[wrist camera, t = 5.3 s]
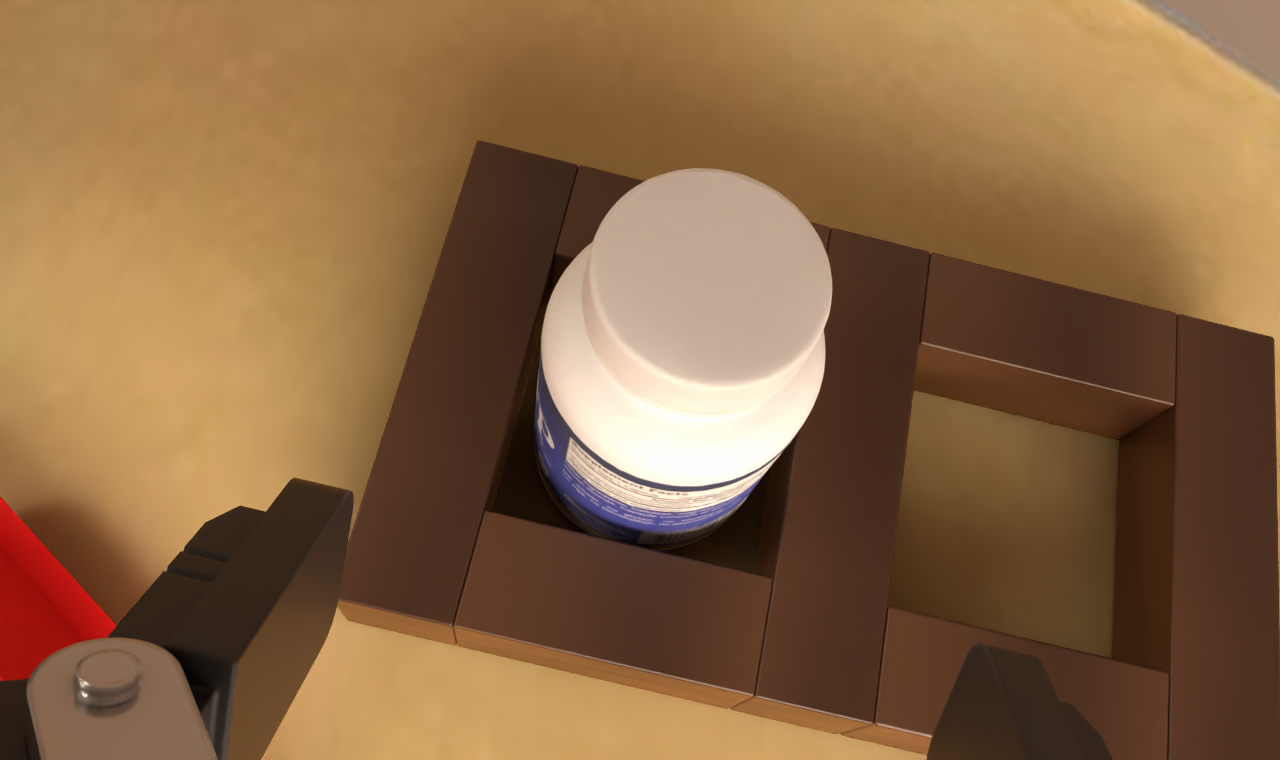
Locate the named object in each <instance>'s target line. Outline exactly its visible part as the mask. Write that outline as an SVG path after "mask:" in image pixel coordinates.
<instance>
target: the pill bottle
mask: <svg viewBox="0 0 1280 760" xmlns="http://www.w3.org/2000/svg"><path fill="white" fill-rule="evenodd" d="M831 300H832V276H831V269H830V264H829V260H828V256H827V253H826V251H825V249H824V246H823V243H822V241H821V239H820V237H819V236H818V234H817V232H816V231H815V229H814V228H813V226H812V225H811V223H810V222H809V221H808V219H807V218H806V217H805V216H804V214H803V213H802V212H801V211H800V210H799V209H798V208H797V207H796V205H794V204H793V203H792V202H791V201H789V200H788V199H787V198H786V197H784V196H783V195H782V194H781V193H779V192H778V191H776V190H774V189H773V188H771V187H769V186H768V185H766V184H764V183H762V182H759V181H757V180H755V179H753V178H751V177H749V176H746V175H743V174H740V173H736V172H731V171H726V170H720V169H709V168H690V169H684V170H676V171H672V172H668V173H665V174H661V175H658V176H655V177H653V178H651V179H648V180H646V181H645V182H643V183H641V184H639V185H637V186H636V187H634V188H633V189H631V190H630V191H629V192H627V193H626V194H625V195H624V196H623V197H621V198H620V199H619V200H618V201H617V202H616V204H615V205H614V206H613V207H612V208H611V209H610V210H609V212H608V213H607V215H606V216H605V218H604V219H603V221H602V222H601V224H600V226H599V228H598V231H597V233H596V235H595V237H594V240H593V242H592V243H590V244H589V245H588V246H587V247H585V248H584V249H583V250H582V251H581V252H580V254H579V255H578V256H577V257H576V258H575V259H574V260H573V261H572V262H571V264H570V265H569V266H568V267H567V268H566V270H565V271H564V273H563V274H562V276H561V277H560V279H559V281H558V283H557V285H556V286H555V288H554V290H553V293H552V295H551V298H550V300H549V303H548V306H547V310H546V313H545V318H544V322H543V328H542V334H541V345H540V360H539V371H538V382H537V396H536V407H535V417H534V432H533V443H534V453H535V459H536V464H537V467H538V471H539V474H540V477H541V479H542V481H543V483H544V486H545V488H546V489H547V491H548V493H549V495H550V496H551V498H552V499H553V501H554V502H555V504H556V505H557V506H558V508H559V509H560V510H561V511H562V512H563V513H564V514H565V515H566V517H567V518H569V519H570V520H571V521H572V522H573V523H574V524H575V525H577V526H578V527H579V528H580V529H582V530H583V531H585V532H586V533H588V534H589V535H593V536H598V537H602V538H606V539H610V540H615V541H619V542H623V543H627V544H631V545H636V546H640V547H644V548H648V549H653V550H657V551H664V550H670V549H676V548H679V547H683V546H686V545H689V544H692V543H694V542H697V541H699V540H701V539H703V538H705V537H707V536H708V535H710V534H712V533H713V532H715V531H716V530H718V529H719V528H720V527H721V526H723V525H724V524H725V523H726V522H727V521H728V520H729V519H730V518H731V517H732V516H733V515H734V514H735V513H736V512H737V510H738V509H739V508H740V507H741V505H742V504H743V503H744V502H745V500H746V499H747V498H748V496H749V495H750V493H751V492H752V491H753V489H754V488H755V486H756V485H757V484H758V482H759V481H760V480H761V478H762V477H763V476H764V474H765V473H766V472H767V471H768V469H769V468H770V467H771V465H772V464H773V463H774V462H775V461H776V460H777V458H778V457H779V456H780V455H781V454H782V452H783V451H784V450H785V449H786V448H787V446H788V445H789V444H790V443H791V441H792V440H793V439H794V437H795V435H796V434H797V432H798V431H799V429H800V428H801V427H802V425H803V424H804V422H805V420H806V419H807V417H808V415H809V413H810V412H811V410H812V408H813V406H814V403H815V401H816V398H817V396H818V393H819V391H820V387H821V383H822V379H823V375H824V367H825V336H824V327H825V325H826V322H827V319H828V317H829V312H830V307H831Z"/></svg>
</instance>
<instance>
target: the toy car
mask: <svg viewBox="0 0 1280 760" xmlns="http://www.w3.org/2000/svg"><path fill="white" fill-rule="evenodd" d="M115 627H116V625H115V624H114V622H113V621H112V620H111V619H110V618H109V617H108V616H107V615H106V614H105V612H104V611H103V610H102V609H101V608H100V607H99V606H98V605H97V604H96V602H95V601H94V600H93V599H92V598H91V597H90V596H89V595H88V594H87V592H86V591H85V590H84V589H83V588H82V587H81V586H80V585H79V584H78V582H77V581H76V580H75V579H74V578H73V577H72V576H71V575H70V574H69V572H68V571H67V570H66V569H65V568H64V567H63V566H62V565H61V564H60V562H59V561H58V560H57V559H56V558H55V557H54V556H53V555H52V554H51V552H50V551H49V550H48V549H47V548H46V547H45V546H44V545H43V543H42V542H41V541H40V540H39V539H38V538H37V537H36V536H35V535H34V533H33V532H32V531H31V530H30V529H29V528H28V527H27V526H26V525H25V523H24V522H23V521H22V520H21V519H20V518H19V517H18V516H17V515H16V513H15V512H14V511H13V510H12V509H11V508H10V507H9V506H8V505H7V503H6V502H5V501H4V500H3V499H2V498H1V497H0V681H3V680H18V679H26V678H30V676H31V674H32V672H33V671H34V670H35V668H36V667H37V666H38V665H39V664H40V663H41V662H42V661H43V660H45V659H46V658H47V657H48V656H50V655H52V654H53V653H55V652H57V651H58V650H61V649H63V648H65V647H67V646H70V645H73V644H76V643H79V642H82V641H87V640H92V639H99V638H107V637H108V636H109V634H110V633H111V632H112V631H113V630H114V629H115Z"/></svg>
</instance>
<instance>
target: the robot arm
mask: <svg viewBox="0 0 1280 760" xmlns="http://www.w3.org/2000/svg"><path fill="white" fill-rule="evenodd" d="M352 511H353V493H352V491H349V490H345V489H341V488H336V487H332V486H328V485H324V484H320V483H315V482H311V481H307V480H303V479H299V478H293V479H291V480H290V481H289V482H288V484H287V485H286V486H285V488H284V489H283V490H282V492H281V493H280V494H279V495H278V497H277V498H276V499H275V501H274V502H273V503H272V505H271V506H270V507H269V508H268V510H267V511H266V512H264V511H260V510H256V509H252V508H248V507H243V506H238V507H236V508H234V509H232V510H230V511H228V512H226V513H224V514H222V515H220V516H218V517H216V518H214V519H212V520H210V521H208V522H206V523H205V524H204V525H203V526H202V527H201V528H200V530H199V531H198V532H197V533H196V534H195V535H194V537H193V538H192V539H191V540H190V541H189V542H188V544H187V545H186V546H185V548H184V551H183V552H180V553H179V554H178V555H177V556H176V558H175V559H174V560H173V561H172V562H171V563H170V565H169V566H168V569H167V571H166V572H164V571H163V573H162V574H161V575H160V576H159V577H158V578H157V580H156V581H155V582H154V583H153V584H152V585H151V587H150V588H149V589H148V590H147V591H146V592H145V594H144V595H143V596H142V597H141V598H140V599H139V601H138V602H137V603H136V604H135V605H134V606H133V608H132V609H131V610H130V611H129V612H128V613H127V615H126V616H125V617H124V618H123V619H122V620H121V622H120V623H119V624H118V625H117V626H116V627H115V629H114V630H113V631H112V632H111V633H110V634H109V636H108V637H107V638H99V639H92V640H87V641H82V642H79V643H76V644H73V645H70V646H67V647H65V648H63V649H61V650H58V651H57V652H55V653H53V654H52V655H50V656H48V657H47V658H46V659H45V660H43V661H42V662H41V663H40V664H39V665H38V666H37V667H36V668H35V670H34V671H33V672H32V674H31V676H30V678H26V679H18V680H3V681H0V760H261V758H262V756H263V755H264V753H265V751H266V749H267V747H268V745H269V744H270V742H271V740H272V738H273V736H274V734H275V733H276V731H277V729H278V727H279V725H280V723H281V722H282V720H283V718H284V716H285V714H286V712H287V711H288V709H289V707H290V705H291V703H292V701H293V700H294V698H295V696H296V694H297V692H298V690H299V689H300V687H301V685H302V683H303V681H304V679H305V678H306V676H307V674H308V672H309V670H310V668H311V667H312V665H313V663H314V661H315V659H316V657H317V656H318V654H319V652H320V650H321V648H322V646H323V644H324V642H325V640H326V638H327V636H328V633H329V630H330V628H331V625H332V622H333V618H334V615H335V612H336V608H337V604H338V599H339V594H340V588H341V581H342V575H343V568H344V562H345V556H346V549H347V543H348V536H349V530H350V524H351V517H352ZM927 760H1113V758H1112V756H1111V754H1110V752H1109V750H1108V748H1107V746H1106V744H1105V742H1104V740H1103V737H1102V736H1101V735H1100V734H1099V733H1098V732H1097V731H1096V729H1095V728H1094V727H1093V726H1092V725H1091V724H1090V723H1089V722H1088V721H1087V720H1086V719H1085V718H1084V717H1083V715H1082V714H1081V713H1080V712H1079V711H1078V710H1077V709H1076V708H1075V707H1074V706H1073V705H1071V704H1067V703H1063V702H1060V701H1059V699H1058V697H1057V694H1056V692H1055V690H1054V688H1053V685H1052V683H1051V681H1050V679H1049V677H1048V674H1047V672H1046V670H1045V668H1044V665H1043V663H1042V662H1041V660H1040V659H1039V658H1038V657H1037V656H1035V655H1030V654H1026V653H1022V652H1018V651H1014V650H1009V649H1005V648H1001V647H997V646H993V645H988V644H984V643H977V644H975V645H974V646H973V647H972V648H971V649H970V651H969V652H968V654H967V656H966V658H965V660H964V663H963V665H962V667H961V670H960V672H959V674H958V677H957V679H956V681H955V684H954V686H953V689H952V691H951V693H950V696H949V698H948V700H947V703H946V705H945V707H944V710H943V712H942V714H941V717H940V719H939V722H938V724H937V726H936V729H935V731H934V733H933V736H932V739H931V742H930V745H929V750H928V755H927Z"/></svg>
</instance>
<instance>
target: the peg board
mask: <svg viewBox="0 0 1280 760" xmlns="http://www.w3.org/2000/svg"><path fill="white" fill-rule="evenodd" d="M643 182H645V181H642V180H638V179H634V178H630V177H626V176H622V175H618V174H614V173H610V172H606V171H602V170H598V169H594V168H590V167H586V166H582V165H580V166H579V167H578V165H576V164H573V163H569V162H565V161H561V160H556V159H552V158H548V157H544V156H540V155H536V154H532V153H528V152H524V151H520V150H516V149H512V148H508V147H504V146H500V145H496V144H492V143H488V142H484V141H480V140H479V141H477V142H476V145H475V148H474V151H473V155H472V158H471V161H470V164H469V167H468V170H467V173H466V176H465V180H464V183H463V186H462V189H461V192H460V195H459V198H458V201H457V205H456V208H455V211H454V214H453V217H452V220H451V223H450V226H449V230H448V233H447V236H446V239H445V242H444V245H443V248H442V251H441V255H440V258H439V261H438V264H437V267H436V270H435V273H434V276H433V280H432V283H431V286H430V289H429V292H428V295H427V298H426V301H425V305H424V308H423V311H422V314H421V317H420V320H419V323H418V326H417V330H416V333H415V336H414V339H413V342H412V345H411V348H410V351H409V354H408V358H407V361H406V364H405V367H404V370H403V373H402V376H401V379H400V383H399V386H398V389H397V392H396V395H395V398H394V401H393V404H392V408H391V411H390V414H389V417H388V420H387V423H386V426H385V429H384V433H383V436H382V439H381V442H380V445H379V448H378V451H377V454H376V458H375V461H374V464H373V467H372V470H371V473H370V476H369V479H368V483H367V486H366V489H365V492H364V495H363V498H362V501H361V504H360V508H359V511H358V514H357V517H356V520H355V523H354V526H353V529H352V533H351V536H350V539H349V542H348V545H347V549H346V556H345V562H344V568H343V575H342V581H341V588H340V594H339V599H338V604H337V606H338V608H339V609H340V611H341V612H342V613H343V615H344V616H345V618H346V619H347V620H348V621H352V622H356V623H361V624H365V625H369V626H373V627H378V628H382V629H386V630H391V631H395V632H399V633H404V634H408V635H412V636H416V637H421V638H425V639H429V640H434V641H438V642H442V643H447V644H451V645H456V643H457V645H458V646H459V647H464V648H468V649H472V650H477V651H481V652H485V653H490V654H494V655H498V656H502V657H507V658H511V659H515V660H520V661H524V662H528V663H533V664H537V665H541V666H545V667H550V668H554V669H558V670H563V671H567V672H571V673H576V674H580V675H584V676H588V677H593V678H597V679H601V680H606V681H610V682H614V683H619V684H623V685H627V686H631V687H636V688H640V689H644V690H649V691H653V692H657V693H662V694H666V695H670V696H674V697H679V698H683V699H687V700H692V701H696V702H700V703H705V704H709V705H713V706H717V707H722V708H726V709H728V708H731V709H732V710H735V711H739V712H743V713H747V714H752V715H756V716H760V717H765V718H769V719H773V720H778V721H782V722H786V723H790V724H795V725H799V726H803V727H808V728H812V729H816V730H821V731H825V732H829V733H833V734H838V733H840V734H841V735H843V736H847V737H852V738H856V739H860V740H864V741H869V742H873V743H877V744H882V745H886V746H890V747H895V748H899V749H903V750H907V751H912V752H916V753H920V754H925V755H928V750H929V745H930V742H931V739H932V736H933V733H934V731H935V729H936V726H937V724H938V722H939V719H940V717H941V714H942V712H943V710H944V707H945V705H946V703H947V700H948V698H949V696H950V693H951V691H952V689H953V686H954V684H955V681H956V679H957V677H958V674H959V672H960V670H961V667H962V665H963V663H964V660H965V658H966V656H967V654H968V652H969V651H970V649H971V648H972V647H973V646H974V645H975V644H977V643H984V644H988V645H993V646H997V647H1001V648H1005V649H1009V650H1014V651H1018V652H1022V653H1026V654H1030V655H1035V656H1037V657H1038V658H1039V659H1040V660H1041V662H1042V663H1043V665H1044V668H1045V670H1046V672H1047V674H1048V677H1049V679H1050V681H1051V683H1052V685H1053V688H1054V690H1055V692H1056V694H1057V697H1058V699H1059V701H1060V702H1063V703H1067V704H1071V705H1073V706H1074V707H1075V708H1076V709H1077V710H1078V711H1079V712H1080V713H1081V714H1082V715H1083V717H1084V718H1085V719H1086V720H1087V721H1088V722H1089V723H1090V724H1091V725H1092V726H1093V727H1094V728H1095V729H1096V731H1097V732H1098V733H1099V734H1100V735H1101V736H1102V737H1103V740H1104V742H1105V744H1106V746H1107V748H1108V750H1109V752H1110V754H1111V756H1112V758H1113V760H1280V625H1279V571H1278V517H1277V464H1276V410H1275V356H1274V338H1273V337H1270V336H1266V335H1262V334H1258V333H1254V332H1249V331H1245V330H1241V329H1237V328H1233V327H1229V326H1225V325H1221V324H1217V323H1213V322H1209V321H1205V320H1201V319H1197V318H1193V317H1189V316H1185V315H1181V314H1179V315H1177V314H1176V313H1174V312H1170V311H1166V310H1162V309H1158V308H1154V307H1150V306H1146V305H1141V304H1137V303H1133V302H1129V301H1125V300H1121V299H1117V298H1113V297H1109V296H1105V295H1101V294H1097V293H1093V292H1089V291H1085V290H1081V289H1077V288H1073V287H1069V286H1065V285H1061V284H1057V283H1053V282H1049V281H1045V280H1041V279H1037V278H1033V277H1029V276H1025V275H1020V274H1016V273H1012V272H1008V271H1004V270H1000V269H996V268H992V267H988V266H984V265H980V264H976V263H972V262H968V261H964V260H960V259H956V258H952V257H948V256H944V255H940V254H936V253H931V254H930V253H929V252H928V251H924V250H920V249H916V248H912V247H908V246H904V245H900V244H896V243H892V242H888V241H884V240H880V239H876V238H871V237H867V236H863V235H859V234H855V233H851V232H847V231H843V230H839V229H835V228H831V229H830V227H828V226H824V225H820V224H816V223H812V222H810V223H811V225H812V226H813V228H814V229H815V231H816V232H817V234H818V236H819V237H820V239H821V241H822V243H823V246H824V249H825V251H826V253H827V256H828V260H829V264H830V269H831V276H832V300H831V307H830V312H829V317H828V319H827V322H826V325H825V327H824V336H825V367H824V375H823V379H822V383H821V387H820V391H819V393H818V396H817V398H816V401H815V403H814V406H813V408H812V410H811V412H810V413H809V415H808V417H807V419H806V420H805V422H804V424H803V425H802V427H801V428H800V429H799V431H798V432H797V434H796V435H795V437H794V439H793V440H792V441H791V443H790V444H789V445H788V446H787V448H786V449H785V450H784V451H783V452H782V454H781V455H780V456H779V457H778V458H777V460H776V461H775V462H774V463H773V464H772V467H771V472H770V478H769V484H768V490H767V496H766V502H765V508H764V513H763V519H762V525H761V531H760V537H759V543H758V549H757V554H756V560H755V566H754V572H753V573H750V572H745V571H741V570H737V569H733V568H729V567H724V566H720V565H716V564H712V563H707V562H703V561H699V560H695V559H691V558H686V557H682V556H678V555H674V554H669V553H665V552H661V551H657V550H653V549H648V548H644V547H640V546H636V545H631V544H627V543H623V542H619V541H615V540H610V539H606V538H602V537H598V536H593V535H589V534H585V533H581V532H577V531H572V530H568V529H564V528H560V527H555V526H551V525H547V524H543V523H539V522H534V521H530V520H526V519H522V518H517V517H513V516H509V515H505V514H501V513H496V512H493V508H494V504H495V501H496V497H497V493H498V490H499V486H500V482H501V479H502V475H503V471H504V467H505V464H506V460H507V456H508V453H509V449H510V445H511V442H512V438H513V434H514V430H515V427H516V423H517V419H518V416H519V412H520V408H521V405H522V401H523V397H524V394H525V390H526V386H527V382H528V379H529V375H530V371H531V368H532V364H533V360H534V357H535V353H536V349H537V345H538V342H539V338H540V334H541V331H542V327H543V322H544V318H545V313H546V310H547V306H548V303H549V300H550V298H551V295H552V293H553V290H554V288H555V286H556V285H557V283H558V281H559V279H560V277H561V276H562V274H563V273H564V271H565V270H566V268H567V267H568V266H569V265H570V264H571V262H572V261H573V260H574V259H575V258H576V257H577V256H578V255H579V254H580V252H581V251H582V250H583V249H584V248H585V247H587V246H588V245H589V244H590V243H592V242H593V240H594V237H595V235H596V233H597V231H598V228H599V226H600V224H601V222H602V221H603V219H604V218H605V216H606V215H607V213H608V212H609V210H610V209H611V208H612V207H613V206H614V205H615V204H616V202H617V201H618V200H619V199H620V198H621V197H623V196H624V195H625V194H626V193H627V192H629V191H630V190H631V189H633V188H634V187H636V186H637V185H639V184H641V183H643ZM913 390H916V391H921V392H925V393H929V394H933V395H937V396H941V397H945V398H949V399H953V400H958V401H962V402H966V403H970V404H974V405H978V406H982V407H986V408H990V409H994V410H999V411H1003V412H1007V413H1011V414H1015V415H1019V416H1023V417H1027V418H1031V419H1036V420H1040V421H1044V422H1048V423H1052V424H1056V425H1060V426H1064V427H1068V428H1072V429H1077V430H1081V431H1085V432H1089V433H1093V434H1097V435H1101V436H1105V437H1109V438H1114V439H1120V461H1119V486H1118V511H1117V536H1116V561H1115V585H1114V610H1113V635H1112V659H1111V658H1107V657H1103V656H1099V655H1095V654H1090V653H1086V652H1082V651H1078V650H1073V649H1069V648H1065V647H1061V646H1057V645H1052V644H1048V643H1044V642H1040V641H1035V640H1031V639H1027V638H1023V637H1019V636H1014V635H1010V634H1006V633H1002V632H997V631H993V630H989V629H985V628H981V627H976V626H972V625H968V624H964V623H959V622H955V621H951V620H947V619H943V618H938V617H934V616H930V615H926V614H921V613H917V612H913V611H909V610H905V609H900V608H896V607H892V606H891V607H887V605H888V596H889V588H890V580H891V572H892V563H893V555H894V547H895V539H896V530H897V522H898V514H899V505H900V497H901V489H902V481H903V472H904V464H905V456H906V448H907V439H908V431H909V423H910V415H911V406H912V398H913Z"/></svg>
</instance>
